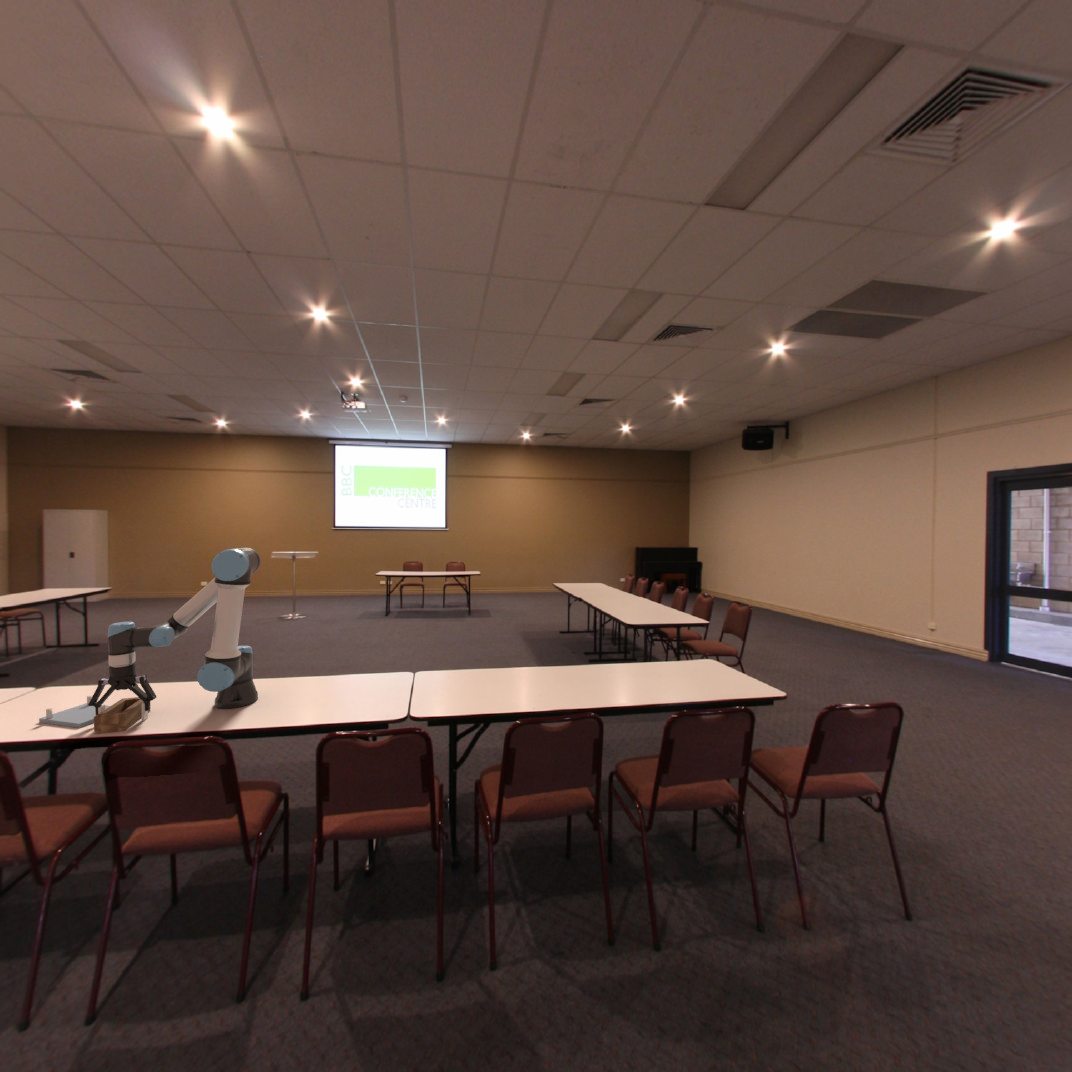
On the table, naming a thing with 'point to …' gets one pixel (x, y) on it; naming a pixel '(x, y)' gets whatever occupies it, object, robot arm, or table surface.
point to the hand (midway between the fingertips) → (123, 721)
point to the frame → (119, 716)
